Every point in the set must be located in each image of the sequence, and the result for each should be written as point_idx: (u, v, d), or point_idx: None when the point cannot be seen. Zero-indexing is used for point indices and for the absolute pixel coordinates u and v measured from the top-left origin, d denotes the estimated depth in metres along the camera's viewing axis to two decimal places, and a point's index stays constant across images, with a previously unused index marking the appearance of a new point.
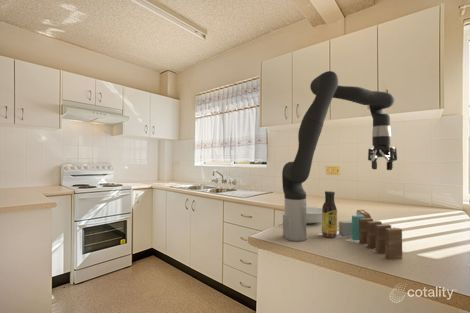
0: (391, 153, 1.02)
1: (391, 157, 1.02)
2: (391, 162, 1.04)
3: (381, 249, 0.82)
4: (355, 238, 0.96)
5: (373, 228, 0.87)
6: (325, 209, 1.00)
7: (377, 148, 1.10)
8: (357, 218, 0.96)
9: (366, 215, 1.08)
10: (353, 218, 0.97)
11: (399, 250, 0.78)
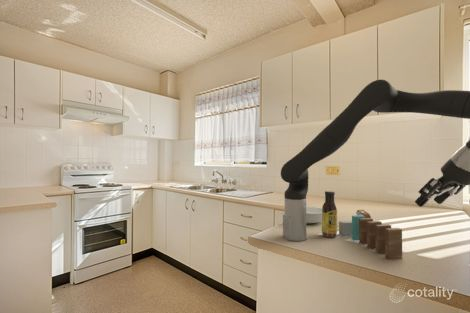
0: None
1: None
2: (423, 197, 0.68)
3: (381, 249, 0.82)
4: (355, 238, 0.96)
5: (373, 228, 0.87)
6: (325, 209, 1.00)
7: None
8: (357, 218, 0.96)
9: (366, 215, 1.08)
10: (353, 218, 0.97)
11: (399, 250, 0.78)
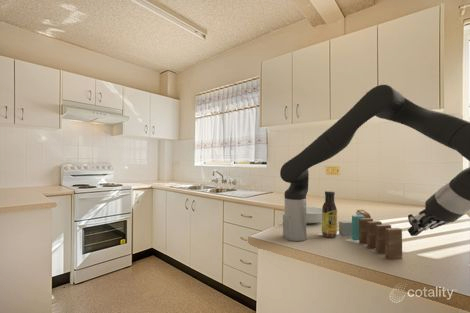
0: None
1: None
2: None
3: (381, 249, 0.82)
4: (355, 238, 0.96)
5: (373, 228, 0.87)
6: (325, 209, 1.00)
7: None
8: (357, 218, 0.96)
9: (366, 215, 1.08)
10: (353, 218, 0.97)
11: (399, 250, 0.78)
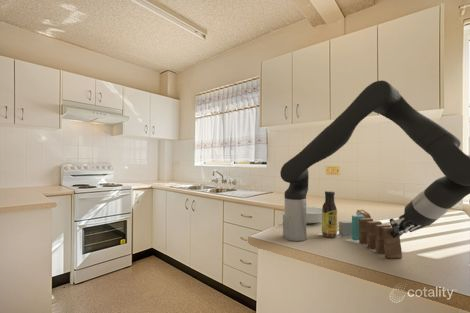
0: None
1: None
2: None
3: (381, 249, 0.82)
4: (355, 238, 0.96)
5: (373, 228, 0.87)
6: (325, 209, 1.00)
7: None
8: (357, 218, 0.96)
9: (366, 215, 1.08)
10: (353, 218, 0.97)
11: (398, 249, 0.79)
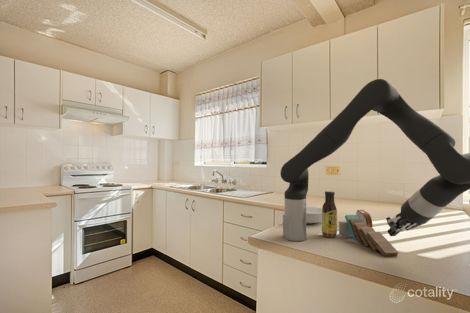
0: None
1: None
2: None
3: None
4: None
5: (360, 227, 0.94)
6: (325, 209, 1.00)
7: None
8: (350, 216, 1.01)
9: (366, 215, 1.08)
10: (346, 217, 1.01)
11: (390, 246, 0.82)
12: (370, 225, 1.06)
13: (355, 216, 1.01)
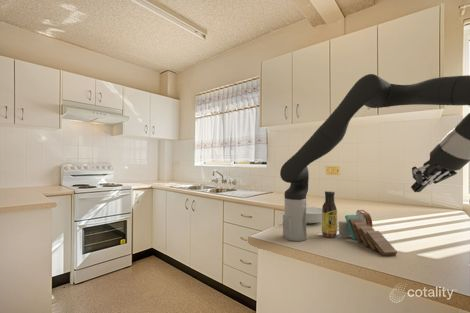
0: None
1: None
2: (417, 182, 0.68)
3: None
4: (354, 236, 0.96)
5: None
6: (325, 209, 1.00)
7: None
8: (350, 216, 1.01)
9: (366, 215, 1.08)
10: (346, 217, 1.01)
11: (389, 245, 0.82)
12: (370, 225, 1.06)
13: (355, 216, 1.01)
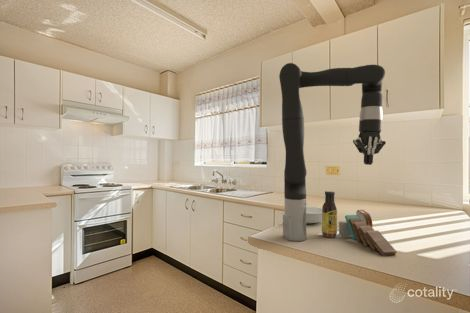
0: None
1: None
2: (365, 155, 0.87)
3: None
4: (355, 236, 0.96)
5: None
6: (325, 209, 1.00)
7: None
8: (350, 216, 1.01)
9: (366, 215, 1.08)
10: (346, 217, 1.01)
11: (389, 245, 0.83)
12: (370, 225, 1.06)
13: (355, 216, 1.01)
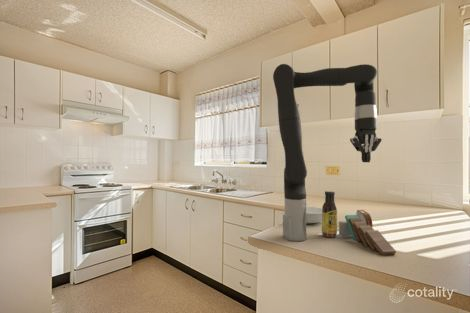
0: None
1: None
2: (362, 153, 0.88)
3: None
4: (355, 236, 0.96)
5: None
6: (325, 209, 1.00)
7: None
8: (350, 216, 1.01)
9: (366, 215, 1.08)
10: (346, 217, 1.01)
11: (388, 245, 0.83)
12: (370, 225, 1.06)
13: (355, 216, 1.01)
